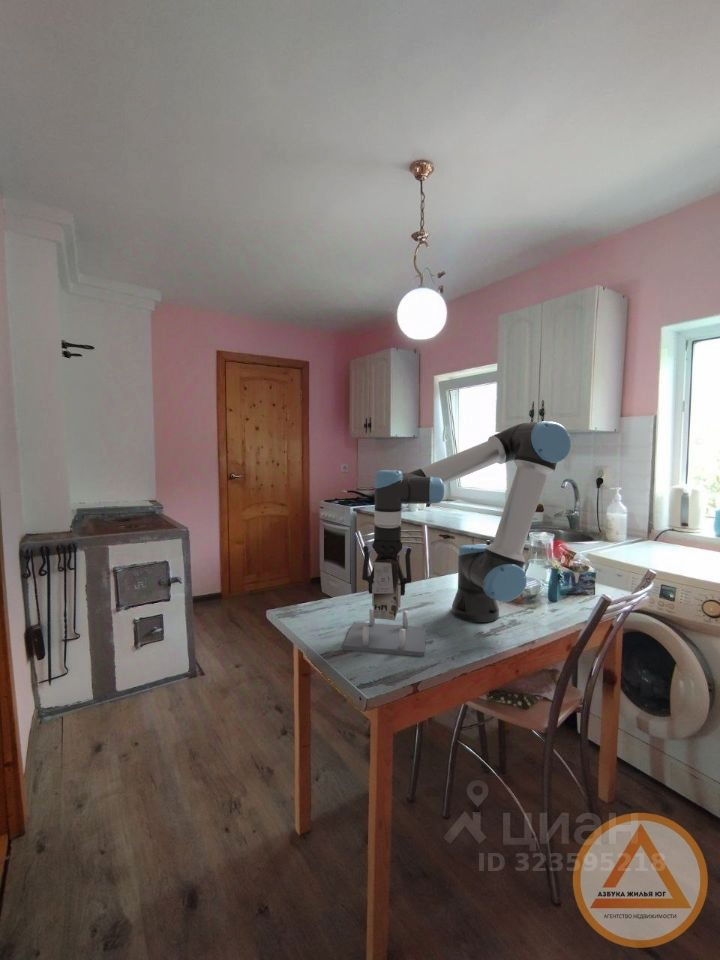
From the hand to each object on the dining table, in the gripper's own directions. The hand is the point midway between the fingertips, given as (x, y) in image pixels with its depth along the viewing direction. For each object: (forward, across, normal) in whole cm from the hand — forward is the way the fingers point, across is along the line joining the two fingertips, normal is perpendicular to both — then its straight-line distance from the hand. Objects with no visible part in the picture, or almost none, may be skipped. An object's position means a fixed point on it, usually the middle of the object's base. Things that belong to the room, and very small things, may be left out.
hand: (386, 605), depth 126 cm
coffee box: (+3, 0, 0) cm, 3 cm away
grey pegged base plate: (+10, 0, 0) cm, 10 cm away
